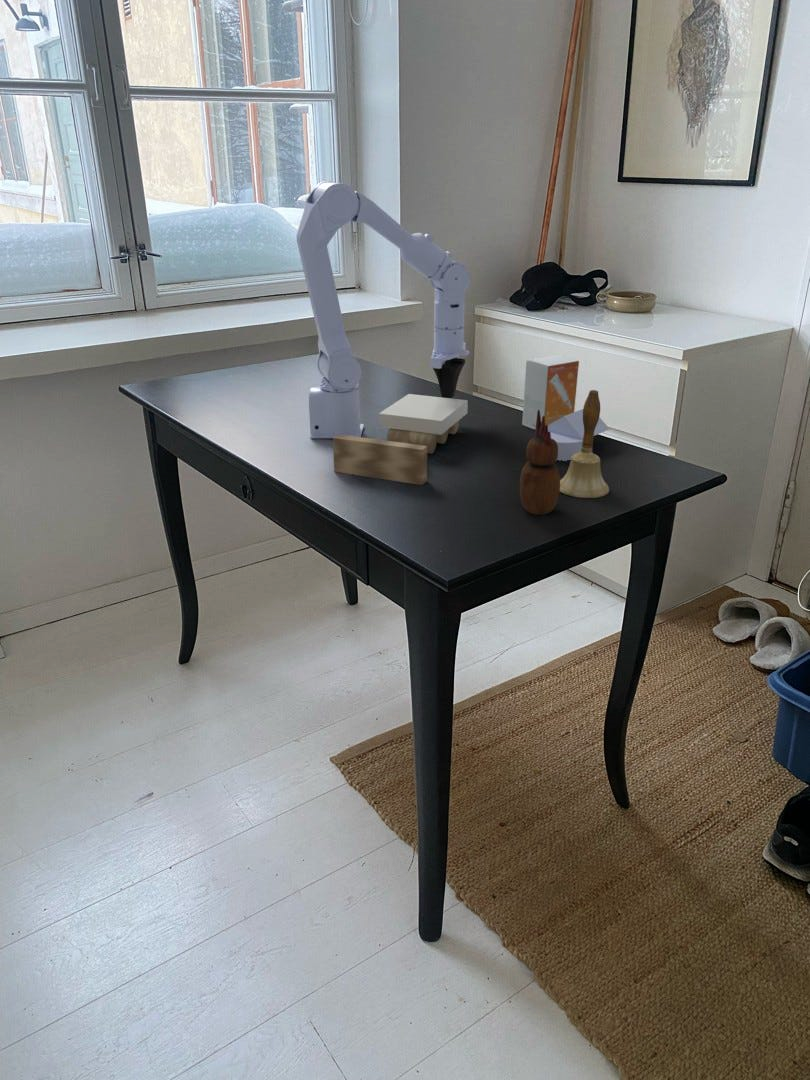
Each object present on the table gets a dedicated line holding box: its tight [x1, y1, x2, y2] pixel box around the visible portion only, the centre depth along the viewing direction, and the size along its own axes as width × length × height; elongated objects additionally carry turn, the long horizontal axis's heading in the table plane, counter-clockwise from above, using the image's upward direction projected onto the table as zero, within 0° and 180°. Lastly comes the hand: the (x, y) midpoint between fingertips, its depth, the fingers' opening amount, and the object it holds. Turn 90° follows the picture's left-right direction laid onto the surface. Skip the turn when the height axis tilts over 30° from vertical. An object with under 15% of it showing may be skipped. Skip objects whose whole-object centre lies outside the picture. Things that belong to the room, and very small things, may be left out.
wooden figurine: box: [519, 410, 561, 516], centre depth 120 cm, size 7×6×15 cm
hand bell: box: [559, 389, 610, 499], centre depth 127 cm, size 8×8×16 cm
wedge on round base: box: [548, 408, 610, 462], centre depth 146 cm, size 9×7×13 cm
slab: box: [378, 393, 469, 435], centre depth 150 cm, size 12×14×2 cm
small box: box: [521, 354, 580, 430], centre depth 158 cm, size 8×6×13 cm
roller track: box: [386, 420, 460, 454], centre depth 148 cm, size 8×25×4 cm, turn 157°
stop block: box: [332, 434, 428, 486], centre depth 135 cm, size 16×2×6 cm, turn 67°
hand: (447, 396), depth 161 cm, fingers closed
